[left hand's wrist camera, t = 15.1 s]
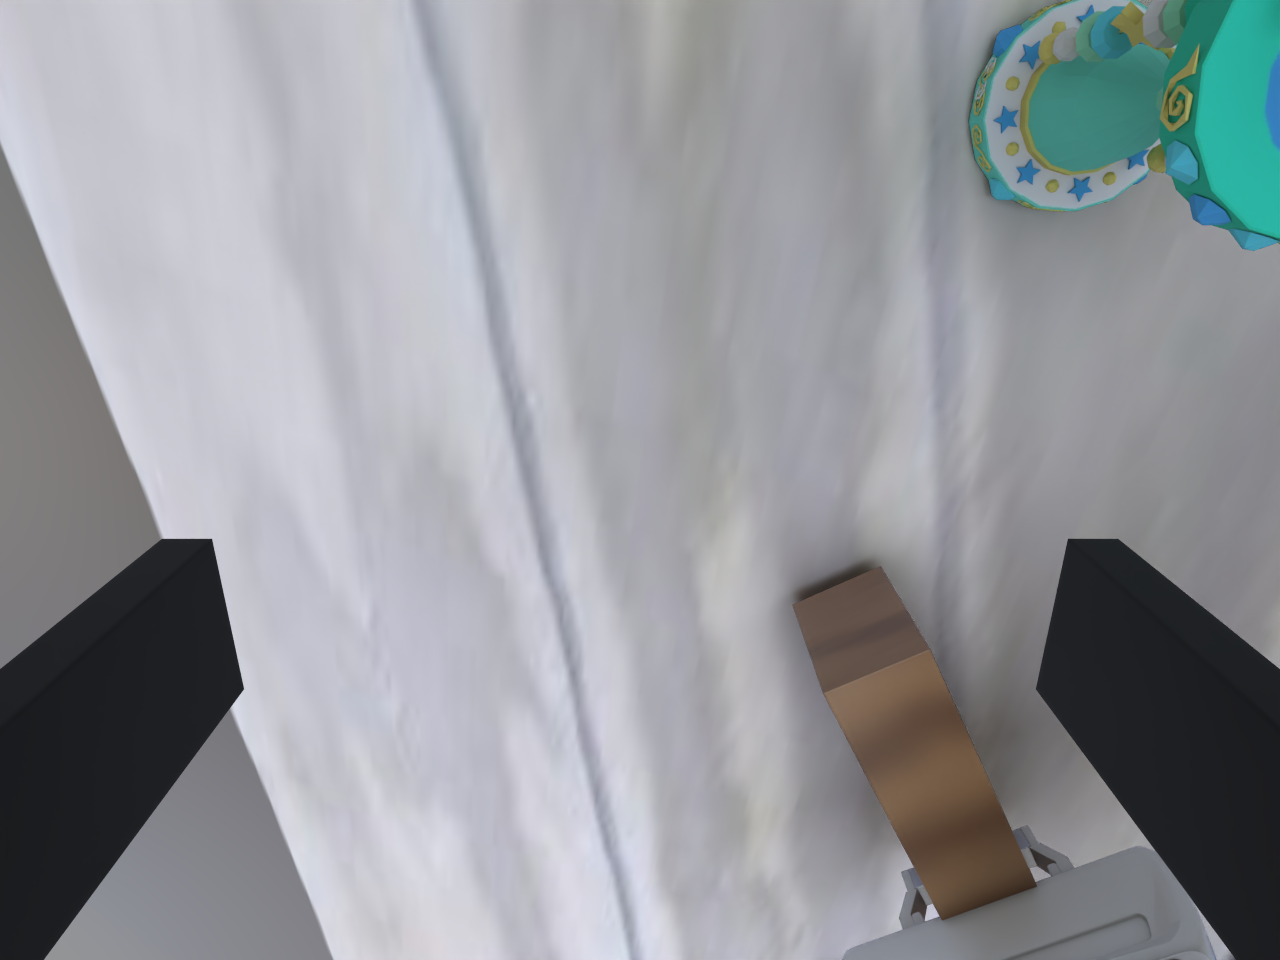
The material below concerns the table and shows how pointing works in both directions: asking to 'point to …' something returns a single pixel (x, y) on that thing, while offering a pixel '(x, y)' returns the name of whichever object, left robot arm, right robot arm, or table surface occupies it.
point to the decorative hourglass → (1138, 108)
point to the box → (912, 743)
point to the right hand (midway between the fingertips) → (967, 854)
